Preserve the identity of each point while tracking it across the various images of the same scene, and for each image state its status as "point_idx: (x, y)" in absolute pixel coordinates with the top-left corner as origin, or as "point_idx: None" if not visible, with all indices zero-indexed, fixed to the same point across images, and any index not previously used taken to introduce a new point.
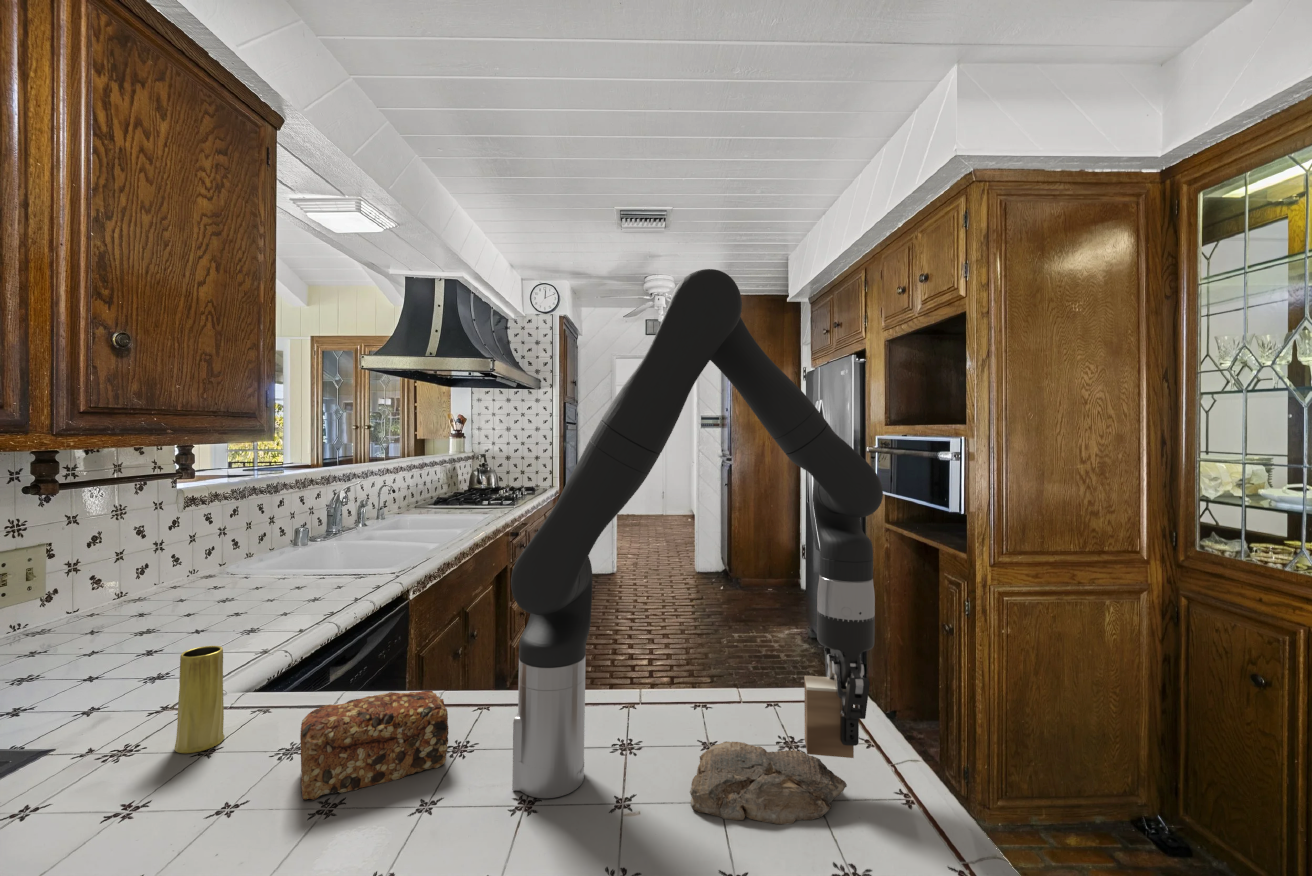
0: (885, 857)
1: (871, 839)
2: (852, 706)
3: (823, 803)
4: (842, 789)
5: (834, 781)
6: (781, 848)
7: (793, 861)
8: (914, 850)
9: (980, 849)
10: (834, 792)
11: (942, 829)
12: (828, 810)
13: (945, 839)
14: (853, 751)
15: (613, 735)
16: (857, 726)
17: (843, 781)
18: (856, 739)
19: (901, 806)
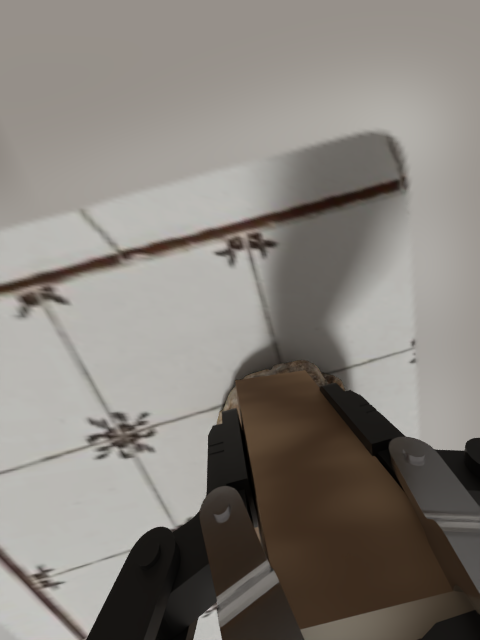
0: (398, 300)
1: (364, 315)
2: (404, 495)
3: (342, 388)
4: (316, 366)
5: (320, 385)
6: (391, 416)
7: (411, 403)
8: (381, 257)
9: (369, 141)
10: (323, 377)
11: (326, 197)
12: (332, 375)
13: (351, 199)
14: (311, 378)
15: (198, 623)
16: (365, 416)
17: (305, 368)
18: (362, 397)
19: (273, 259)
